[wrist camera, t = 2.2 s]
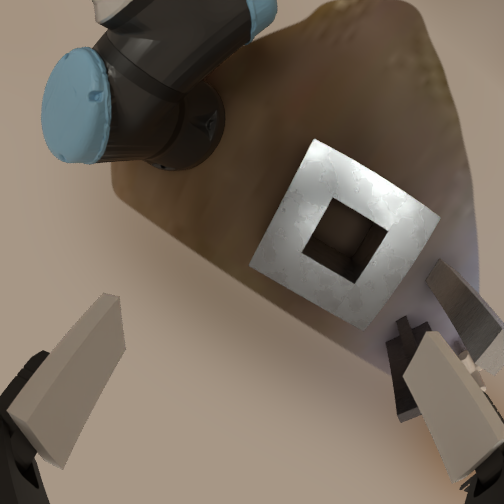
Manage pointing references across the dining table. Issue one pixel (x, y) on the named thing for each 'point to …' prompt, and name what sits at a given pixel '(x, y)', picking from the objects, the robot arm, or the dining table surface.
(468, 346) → the square bit
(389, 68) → the dining table surface
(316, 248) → the bore block
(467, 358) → the pipe connector
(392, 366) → the cross bit
